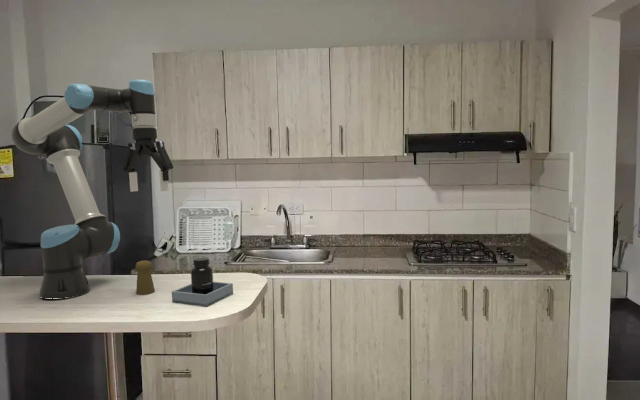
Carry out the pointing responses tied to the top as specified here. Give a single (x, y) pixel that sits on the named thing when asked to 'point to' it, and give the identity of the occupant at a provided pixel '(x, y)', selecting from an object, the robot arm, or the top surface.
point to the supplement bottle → (202, 276)
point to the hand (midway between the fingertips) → (149, 191)
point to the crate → (187, 297)
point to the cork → (144, 278)
